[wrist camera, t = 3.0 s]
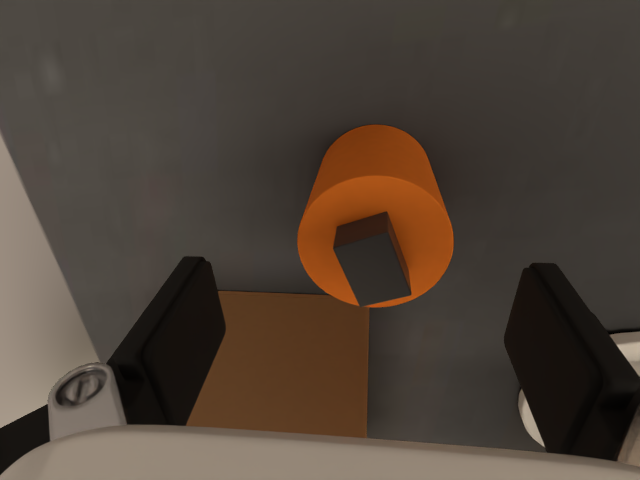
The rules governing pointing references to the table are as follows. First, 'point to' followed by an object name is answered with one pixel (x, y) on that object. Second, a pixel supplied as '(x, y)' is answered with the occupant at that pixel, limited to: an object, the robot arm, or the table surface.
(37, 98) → the table surface
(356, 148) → the orange cylinder
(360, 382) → the carton
